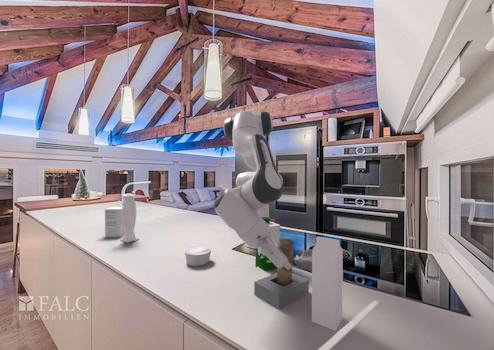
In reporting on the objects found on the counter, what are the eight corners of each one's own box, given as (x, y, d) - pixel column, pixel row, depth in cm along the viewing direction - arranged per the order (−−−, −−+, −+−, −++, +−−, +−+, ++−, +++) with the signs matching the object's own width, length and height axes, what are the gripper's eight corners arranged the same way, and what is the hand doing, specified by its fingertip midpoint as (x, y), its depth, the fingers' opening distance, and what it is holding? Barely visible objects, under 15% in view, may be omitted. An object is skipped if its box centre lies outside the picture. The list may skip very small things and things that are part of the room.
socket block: (284, 283, 81) (284, 269, 81) (308, 295, 73) (308, 279, 73) (254, 297, 72) (254, 281, 72) (278, 312, 64) (279, 294, 64)
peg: (281, 288, 75) (284, 235, 76) (293, 293, 73) (296, 238, 73) (273, 292, 72) (276, 238, 72) (285, 298, 69) (289, 241, 69)
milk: (319, 313, 64) (320, 233, 64) (342, 322, 60) (343, 237, 60) (311, 325, 59) (311, 238, 59) (335, 335, 55) (336, 242, 55)
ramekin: (205, 268, 94) (205, 255, 94) (179, 266, 96) (179, 253, 96) (214, 258, 105) (214, 246, 105) (191, 256, 107) (191, 245, 107)
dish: (293, 270, 92) (293, 258, 92) (298, 258, 105) (298, 247, 105) (332, 276, 87) (332, 263, 87) (332, 263, 100) (332, 251, 100)
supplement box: (112, 233, 147) (112, 206, 146) (127, 232, 148) (127, 206, 147) (104, 237, 137) (104, 208, 137) (121, 237, 138) (120, 208, 138)
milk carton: (270, 262, 100) (270, 216, 100) (282, 270, 92) (283, 219, 92) (252, 266, 96) (252, 217, 96) (263, 274, 88) (264, 222, 88)
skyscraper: (140, 240, 132) (140, 190, 131) (127, 244, 125) (126, 191, 125) (132, 238, 136) (132, 190, 136) (118, 241, 129) (118, 191, 129)
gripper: (270, 234, 61) (305, 270, 62) (258, 218, 82) (285, 246, 83) (253, 251, 61) (289, 287, 62) (245, 231, 81) (273, 258, 82)
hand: (287, 263), depth 73 cm, fingers closed on peg, 4 cm apart
